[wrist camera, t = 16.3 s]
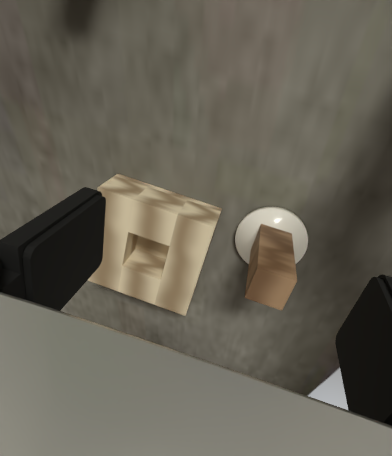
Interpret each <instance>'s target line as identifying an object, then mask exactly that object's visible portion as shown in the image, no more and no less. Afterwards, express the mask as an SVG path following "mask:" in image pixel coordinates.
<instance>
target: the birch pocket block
mask: <svg viewBox="0 0 392 456" xmlns="http://www.w3.org/2000/svg"><path fill="white" fill-rule="evenodd" d="M97 191H100V192H101V193H102V196H103V197H105V198H106V210H105V227H104V244H103V259H102V262H101V264H100V266H99V268H98V269H97V270H96V271H95V272H94V273H93V274H92V275H91V277H90V278H89V279H88V281H91V282H93V283H96V284H99V285H102V286H104V287H107V288H110V289H113V290H115V291H118V292H121V293H124V294H126V295H129V296H132V297H135V298H137V299H140V300H143V301H146V302H148V303H151V304H154V305H157V306H159V307H162V308H165V309H168V310H170V311H173V312H176V313H179V314H181V315H184V316H186V313H187V310H188V307H189V304H190V301H191V299H192V296H193V293H194V290H195V287H196V284H197V281H198V278H199V275H200V272H201V269H202V266H203V263H204V260H205V257H206V254H207V251H208V249H209V246H210V243H211V240H212V237H213V234H214V231H215V228H216V225H217V222H218V219H219V216H220V213H221V210H222V209H221V208H218V207H216V206H213V205H210V204H207V203H204V202H201V201H198V200H195V199H192V198H189V197H186V196H183V195H180V194H177V193H174V192H171V191H168V190H165V189H162V188H159V187H156V186H153V185H150V184H147V183H144V182H141V181H138V180H135V179H132V178H129V177H126V176H123V175H120V174H117V175H115V176H114V177H112V178H111V179H109V180H108V181H106V182H105V183H103V184H102V185H101V186H99V187H98V190H97Z"/></svg>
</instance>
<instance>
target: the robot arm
mask: <svg viewBox="0 0 392 456" xmlns="http://www.w3.org/2000/svg"><path fill="white" fill-rule="evenodd" d="M105 210H106V198H105V197H103V196H102V193H101V192H100V191H97V190H93V189H90V188H87V187H84V188H82V189H80V190H79V191H77V192H76V193H74V194H73V195H71V196H69V197H68V198H66V199H65V200H63V201H61V202H60V203H58V204H57V205H55V206H53V207H52V208H50V209H49V210H47V211H45V212H44V213H42V214H41V215H39V216H37V217H36V218H34V219H33V220H31V221H29V222H28V223H26V224H25V225H23V226H22V227H20V228H18V229H17V230H15V231H14V232H12V233H10V234H9V235H7V236H6V237H4V238H2V239H1V240H0V456H392V277H389V276H385V275H380V276H378V277H377V278H376V277H373V278H371V280H370V281H369V283H368V284H367V286H366V288H365V289H364V291H363V292H362V294H361V296H360V297H359V299H358V301H357V302H356V304H355V305H354V307H353V309H352V310H351V312H350V314H349V315H348V317H347V318H346V320H345V322H344V323H343V325H342V327H341V328H340V330H339V331H338V333H337V336H336V348H337V354H338V359H339V364H340V369H341V374H342V379H343V384H344V389H345V394H346V399H347V404H348V410H349V411H348V410H345V409H342V408H340V407H337V406H334V405H331V404H328V403H325V402H323V401H320V400H317V399H314V398H311V397H308V396H306V395H303V394H300V393H297V392H294V391H291V390H288V389H286V388H283V387H280V386H277V385H274V384H271V383H269V382H266V381H263V380H260V379H257V378H254V377H251V376H249V375H246V374H243V373H240V372H237V371H234V370H231V369H228V368H225V367H223V366H220V365H217V364H214V363H211V362H208V361H205V360H202V359H199V358H196V357H194V356H191V355H188V354H185V353H182V352H179V351H176V350H173V349H170V348H167V347H164V346H162V345H159V344H156V343H153V342H150V341H147V340H144V339H141V338H138V337H135V336H132V335H129V334H126V333H123V332H120V331H117V330H115V329H112V328H109V327H106V326H103V325H100V324H97V323H94V322H91V321H88V320H85V319H82V318H79V317H76V316H73V315H70V314H67V313H64V312H61V311H60V310H61V309H62V308H63V307H64V306H65V304H66V303H67V302H68V301H69V300H70V299H71V298H72V297H73V296H74V294H75V293H76V292H77V291H78V290H79V289H80V288H81V287H82V285H83V284H84V283H85V282H86V281H87V280H88V279H89V278H90V277H91V275H92V274H93V273H94V272H95V271H96V270H97V269H98V268H99V266H100V264H101V262H102V259H103V244H104V227H105Z"/></svg>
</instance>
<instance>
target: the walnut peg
mask: <svg viewBox="0 0 392 456" xmlns="http://www.w3.org/2000/svg"><path fill="white" fill-rule="evenodd" d="M296 282H297V275H296V266H295V257H294V248H293V239H292V233H289V232H286V231H283V230H279V229H276V228H273V227H270V226H267V225H264V224H261V225H260V227H259V230H258V232H257V235H256V238H255V240H254V243H253V245H252V248H251V252H250V260H249V268H248V275H247V283H246V291H245V298H247V299H250V300H253V301H256V302H259V303H261V304H264V305H267V306H270V307H273V308H276V309H279V310H282V309H283V307H284V305H285V303H286V302H287V300H288V298H289V296H290V294H291V292H292V290H293V288H294V286H295V284H296Z"/></svg>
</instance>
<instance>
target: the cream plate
mask: <svg viewBox="0 0 392 456" xmlns="http://www.w3.org/2000/svg"><path fill="white" fill-rule="evenodd" d="M261 224H264V225H267V226H270V227H273V228H276V229H279V230H283V231H286V232H289V233H292V239H293V248H294V257H295V264H296V263H297V262H299V261H300V260H301V258H302V257H303V256H304V254H305V252H306V250H307V246H308V236H307V231H306V228H305V225H304V224H303V222H302V221H301V219H300V218H299V217H298V216H297V215H296V214H294V213H293V212H291V211H289V210H287V209H285V208H281V207H275V206H267V207H261V208H258V209H255V210H253V211H251V212H250V213H248V214H247V215H246V216H245V217H244V218H243V219H242V220H241V222H240V223H239V225H238V227H237V231H236V235H235V244H236V248H237V251H238V253H239V255H240V256H241V257H242V259H243V260H244V261H245V262H246V263H248V264H249V260H250V252H251V248H252V245H253V243H254V240H255V238H256V235H257V232H258V230H259V227H260V225H261Z"/></svg>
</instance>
